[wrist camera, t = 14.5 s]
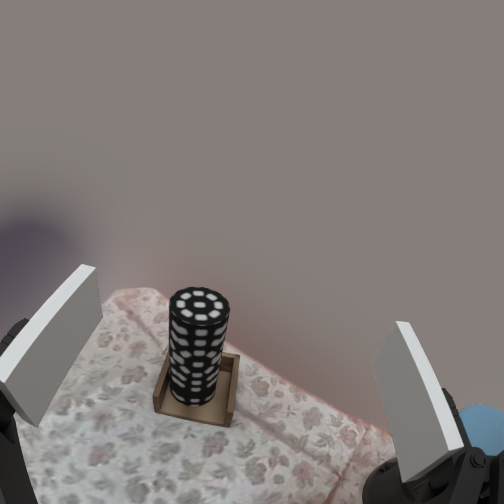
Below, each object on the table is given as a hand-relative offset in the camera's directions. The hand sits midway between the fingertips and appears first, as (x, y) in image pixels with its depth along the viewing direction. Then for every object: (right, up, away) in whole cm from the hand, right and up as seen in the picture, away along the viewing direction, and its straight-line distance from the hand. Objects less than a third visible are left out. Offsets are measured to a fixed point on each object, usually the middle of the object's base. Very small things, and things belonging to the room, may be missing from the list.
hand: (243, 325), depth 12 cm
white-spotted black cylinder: (-10, -22, +36) cm, 43 cm away
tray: (-10, -23, +36) cm, 44 cm away
